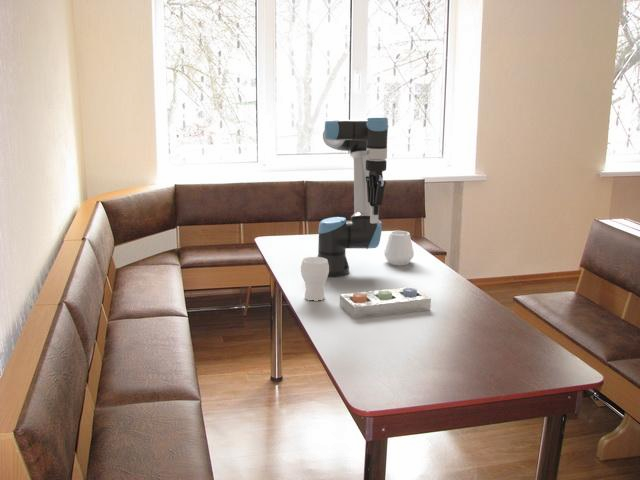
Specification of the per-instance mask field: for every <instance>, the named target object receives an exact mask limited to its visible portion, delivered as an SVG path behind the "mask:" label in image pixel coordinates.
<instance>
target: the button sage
mask: <svg viewBox="0 0 640 480" xmlns="http://www.w3.org/2000/svg"><path fill="white" fill-rule="evenodd" d="M378 298H379V299H380V300H387V299H392V292H390V291H379V292H378Z"/></svg>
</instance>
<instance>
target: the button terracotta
mask: <svg viewBox="0 0 640 480" xmlns="http://www.w3.org/2000/svg"><path fill="white" fill-rule="evenodd" d="M356 293H357V294H353V302H354V303H359V302H367V295H366V294H362V293H358V292H356Z"/></svg>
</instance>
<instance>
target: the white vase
mask: <svg viewBox="0 0 640 480" xmlns="http://www.w3.org/2000/svg"><path fill="white" fill-rule="evenodd" d="M411 238H412V237H411V234H410V232H409V231H405V230H392V231H390V232H389V234H388V239H387V242H386V245H385V248H384V252H383V255H384V257H385V259H386V261H387V262H388V264H389V265H392V266H406V265H409V264H410V262H411V260H413V258H414V255H415V254H414V252H415V251H414V248H413V242H412V239H411Z"/></svg>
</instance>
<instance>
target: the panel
mask: <svg viewBox="0 0 640 480" xmlns="http://www.w3.org/2000/svg"><path fill="white" fill-rule="evenodd" d="M405 288H413V289H416V290H417V296H414V297H405V296H403V289H405ZM379 291H390V292H392V299H387V300H380V299H379V298H378V292H379ZM357 293H362V294H366V295H367V302H359V303H354V302H353V294H357ZM431 303H432V298H431V297H429V295H427V294H425V293H423V292H422V291H420V290H419V289H418V288H416V287H415V286H407V287H399V288H389V289H387V288H386V289H380V290H379V289H377V290H370V291H369V290H368V291H360V292H352V293H351V292H350V293H340V294H339V307H340V308H341V309H342V310H344V311H345V313H346V314H348V315H349V316H350V317H351V318H352V319H353V320H357V319H358V320H359V319H365V318H366V319H367V318H368V319H369V318H375V317H382V316H392V315H393V316H394V315H400V314H409V313H417V312H419V313H420V312H425V311H431V305H432V304H431Z"/></svg>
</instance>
